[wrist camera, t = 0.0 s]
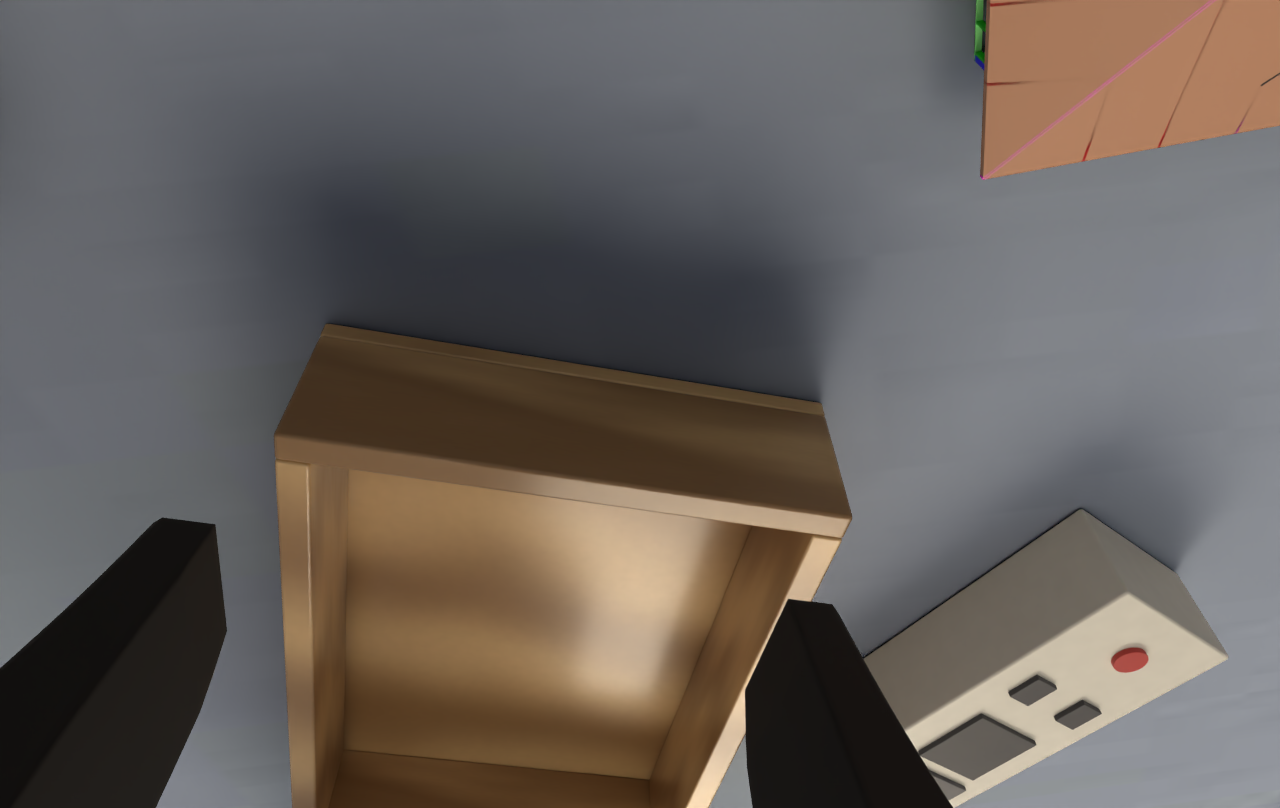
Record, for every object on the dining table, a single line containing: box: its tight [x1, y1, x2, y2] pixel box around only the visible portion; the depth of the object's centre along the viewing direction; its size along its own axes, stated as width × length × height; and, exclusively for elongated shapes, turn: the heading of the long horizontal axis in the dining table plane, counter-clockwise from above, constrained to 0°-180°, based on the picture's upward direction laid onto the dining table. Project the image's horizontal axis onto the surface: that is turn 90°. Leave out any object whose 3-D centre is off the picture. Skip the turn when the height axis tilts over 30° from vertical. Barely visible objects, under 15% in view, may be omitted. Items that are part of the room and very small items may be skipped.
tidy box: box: [274, 324, 852, 808], centre depth 25 cm, size 18×12×4 cm
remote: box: [864, 509, 1229, 808], centre depth 28 cm, size 14×5×3 cm, turn 143°
